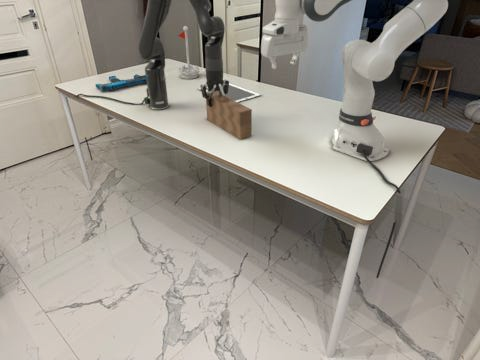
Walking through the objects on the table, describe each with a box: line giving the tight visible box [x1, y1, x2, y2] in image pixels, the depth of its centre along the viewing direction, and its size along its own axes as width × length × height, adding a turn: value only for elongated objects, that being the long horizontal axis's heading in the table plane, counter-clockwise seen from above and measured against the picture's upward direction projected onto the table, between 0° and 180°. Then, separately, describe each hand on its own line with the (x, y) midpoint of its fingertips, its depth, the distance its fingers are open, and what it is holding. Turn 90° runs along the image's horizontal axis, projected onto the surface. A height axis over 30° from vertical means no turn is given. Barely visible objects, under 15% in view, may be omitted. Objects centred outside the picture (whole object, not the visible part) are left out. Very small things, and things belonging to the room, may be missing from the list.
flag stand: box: [177, 25, 200, 80], centre depth 211 cm, size 13×13×30 cm
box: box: [205, 92, 253, 140], centre depth 150 cm, size 27×6×12 cm, turn 36°
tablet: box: [197, 82, 262, 103], centre depth 193 cm, size 32×20×1 cm, turn 41°
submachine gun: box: [94, 74, 147, 92], centre depth 207 cm, size 34×4×25 cm
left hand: (215, 104), depth 156 cm, fingers closed on box, 5 cm apart
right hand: (283, 66), depth 128 cm, fingers open, 8 cm apart
